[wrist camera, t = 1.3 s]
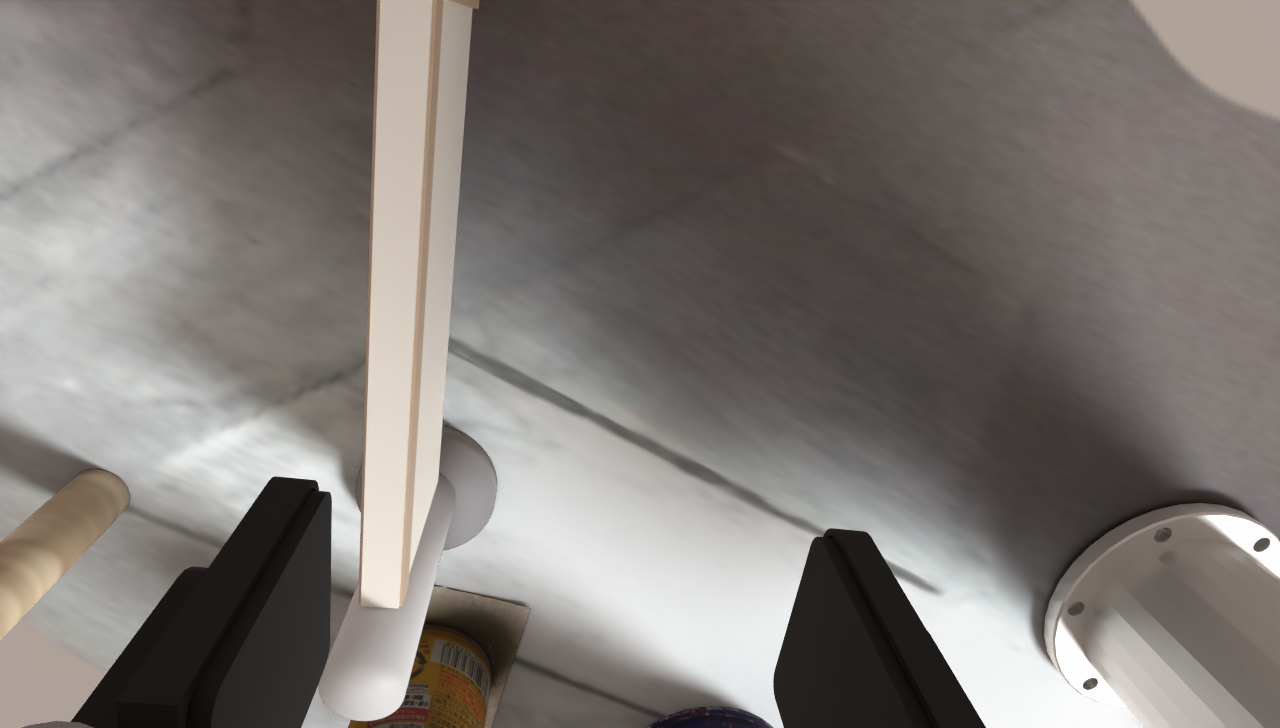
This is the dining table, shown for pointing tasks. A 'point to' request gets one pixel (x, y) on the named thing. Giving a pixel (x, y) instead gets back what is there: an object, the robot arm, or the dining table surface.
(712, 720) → the storage jar
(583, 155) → the dining table surface
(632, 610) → the dining table surface
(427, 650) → the condiment
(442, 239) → the gate
